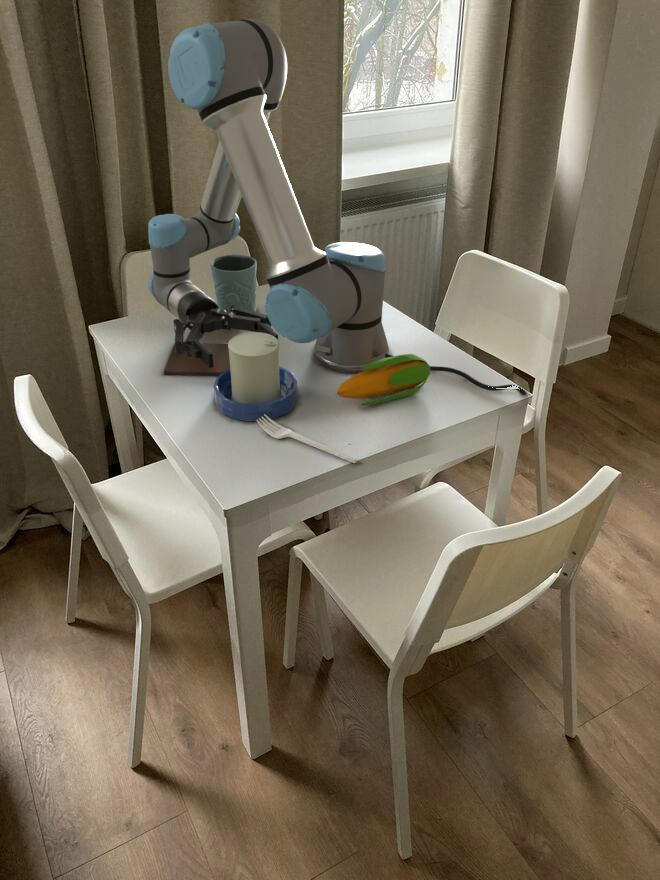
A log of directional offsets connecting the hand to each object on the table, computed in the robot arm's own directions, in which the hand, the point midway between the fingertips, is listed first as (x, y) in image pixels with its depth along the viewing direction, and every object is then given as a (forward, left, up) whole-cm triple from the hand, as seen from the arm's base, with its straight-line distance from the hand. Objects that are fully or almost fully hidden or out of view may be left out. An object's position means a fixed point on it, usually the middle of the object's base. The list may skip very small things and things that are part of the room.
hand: (244, 351), depth 137 cm
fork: (-12, +17, -9) cm, 23 cm away
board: (+8, -12, -9) cm, 17 cm away
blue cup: (+6, -34, -9) cm, 36 cm away
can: (-2, +3, -9) cm, 9 cm away
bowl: (-2, +3, -9) cm, 9 cm away
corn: (-26, +1, -9) cm, 28 cm away
